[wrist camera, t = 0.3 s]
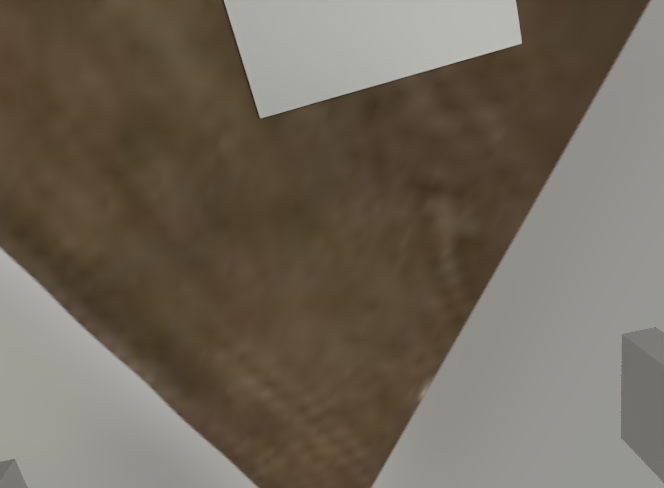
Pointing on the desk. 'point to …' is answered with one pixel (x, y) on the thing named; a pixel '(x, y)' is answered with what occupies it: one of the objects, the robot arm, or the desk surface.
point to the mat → (358, 43)
